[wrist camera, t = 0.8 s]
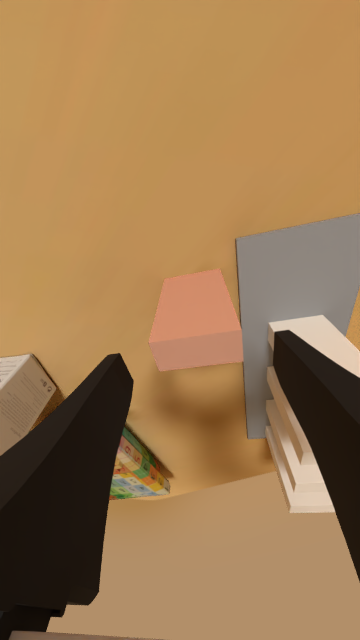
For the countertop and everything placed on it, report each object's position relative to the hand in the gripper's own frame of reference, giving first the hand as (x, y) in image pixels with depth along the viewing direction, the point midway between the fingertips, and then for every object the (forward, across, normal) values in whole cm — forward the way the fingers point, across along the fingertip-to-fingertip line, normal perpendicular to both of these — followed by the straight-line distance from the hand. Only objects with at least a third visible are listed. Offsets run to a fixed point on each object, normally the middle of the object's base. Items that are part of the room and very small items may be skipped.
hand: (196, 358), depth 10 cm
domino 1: (+8, 0, 0) cm, 8 cm away
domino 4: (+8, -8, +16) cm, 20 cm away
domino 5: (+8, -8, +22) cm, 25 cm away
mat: (+8, -8, +10) cm, 16 cm away
